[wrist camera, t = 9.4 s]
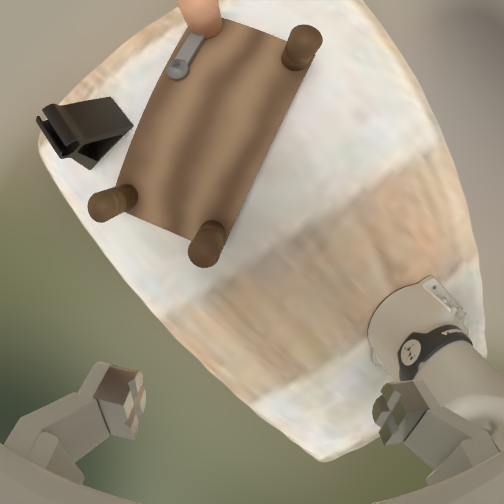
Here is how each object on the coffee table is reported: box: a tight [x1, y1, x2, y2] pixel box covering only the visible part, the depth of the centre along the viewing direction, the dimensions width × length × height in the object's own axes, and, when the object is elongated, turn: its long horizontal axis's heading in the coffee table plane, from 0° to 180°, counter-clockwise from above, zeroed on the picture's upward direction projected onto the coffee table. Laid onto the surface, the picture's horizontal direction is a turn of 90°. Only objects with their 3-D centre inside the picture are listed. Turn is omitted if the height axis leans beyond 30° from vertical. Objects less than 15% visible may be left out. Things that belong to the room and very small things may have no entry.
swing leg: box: [166, 0, 222, 80], centre depth 24 cm, size 10×4×8 cm, turn 154°
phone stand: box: [36, 97, 133, 170], centre depth 28 cm, size 9×6×12 cm, turn 127°
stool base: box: [88, 18, 323, 268], centre depth 29 cm, size 16×28×10 cm, turn 155°
